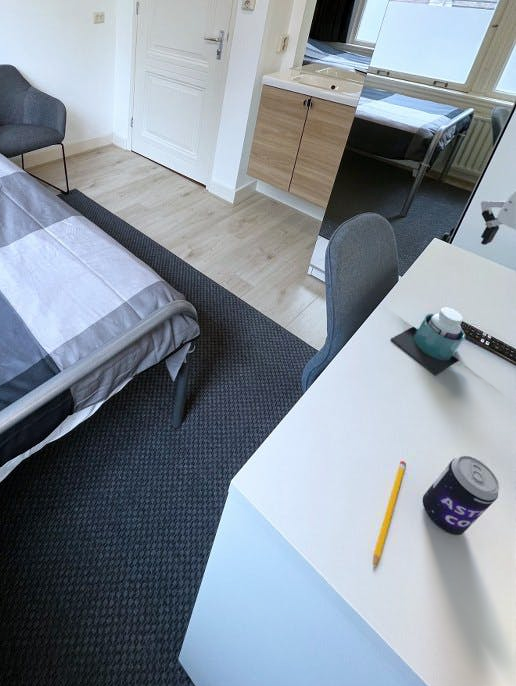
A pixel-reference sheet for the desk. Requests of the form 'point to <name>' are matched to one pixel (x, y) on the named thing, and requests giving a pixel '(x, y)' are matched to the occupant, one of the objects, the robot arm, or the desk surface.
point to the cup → (436, 341)
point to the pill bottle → (446, 323)
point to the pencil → (389, 513)
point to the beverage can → (460, 494)
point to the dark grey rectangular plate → (421, 352)
